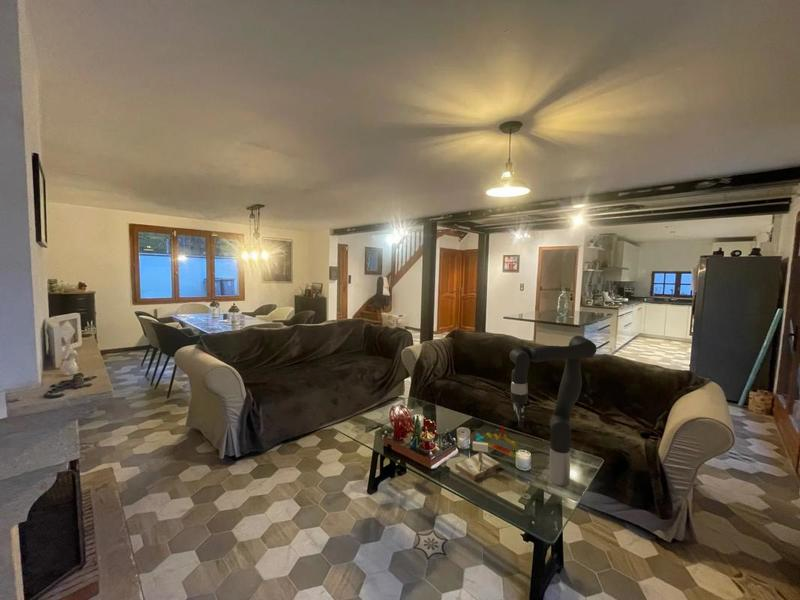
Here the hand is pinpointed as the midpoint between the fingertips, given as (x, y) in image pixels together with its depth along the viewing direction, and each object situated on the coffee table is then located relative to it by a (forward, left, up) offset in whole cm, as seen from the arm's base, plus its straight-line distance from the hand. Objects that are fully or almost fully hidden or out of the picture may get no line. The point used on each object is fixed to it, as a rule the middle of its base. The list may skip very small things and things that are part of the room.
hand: (518, 423), depth 169 cm
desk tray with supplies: (+3, -24, -34) cm, 42 cm away
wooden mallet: (+4, -22, -31) cm, 38 cm away
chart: (-20, -30, -34) cm, 50 cm away
